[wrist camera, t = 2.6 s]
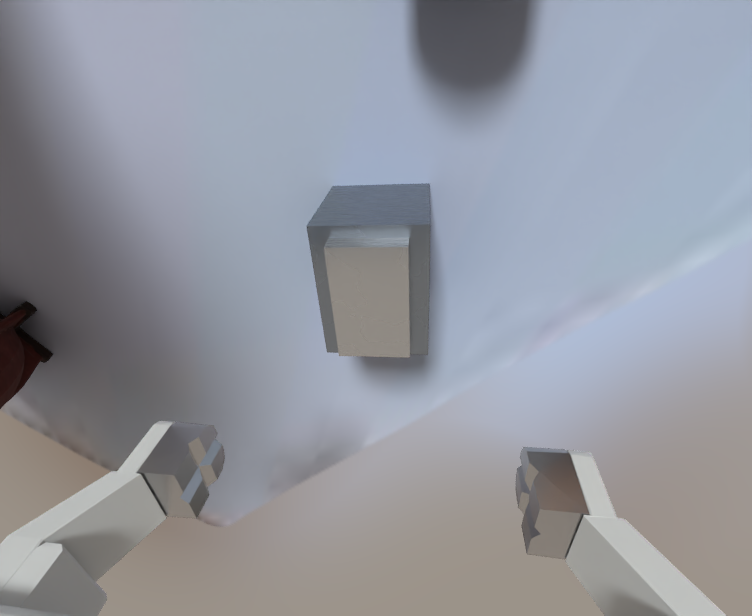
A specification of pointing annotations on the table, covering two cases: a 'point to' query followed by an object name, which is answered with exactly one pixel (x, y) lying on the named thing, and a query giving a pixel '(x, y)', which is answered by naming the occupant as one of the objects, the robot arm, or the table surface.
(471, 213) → the table surface
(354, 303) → the two-tone metal block
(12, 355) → the mate gourd
